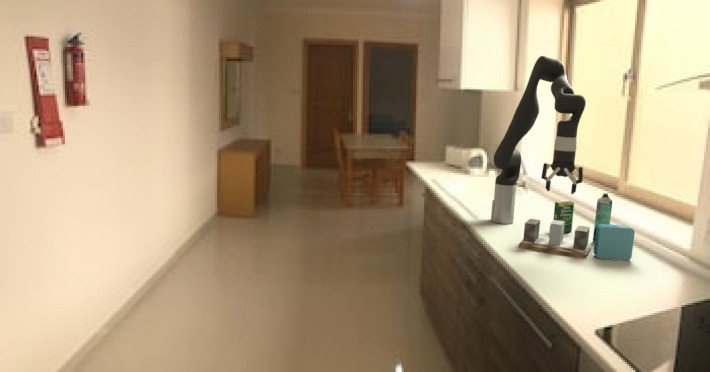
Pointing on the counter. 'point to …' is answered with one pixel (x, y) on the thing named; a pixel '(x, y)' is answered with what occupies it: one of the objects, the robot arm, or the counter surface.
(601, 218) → the spray can
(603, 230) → the blue rounded block
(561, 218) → the coffee box
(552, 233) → the block
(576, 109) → the robot arm
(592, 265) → the counter surface
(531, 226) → the wooden block stand
